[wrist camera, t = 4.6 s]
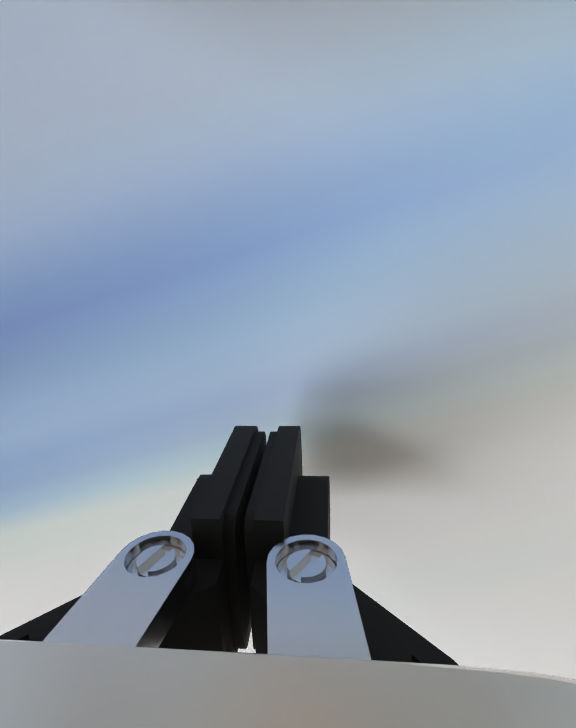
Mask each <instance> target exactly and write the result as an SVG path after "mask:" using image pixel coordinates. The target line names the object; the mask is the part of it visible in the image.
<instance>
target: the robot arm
mask: <svg viewBox="0 0 576 728" xmlns="http://www.w3.org/2000/svg"><path fill="white" fill-rule="evenodd" d="M251 627H252V638H253V648H254V649H256V653H240V652H238V648H240V649H246V648H247V646H248V641H249V636H250V632H251ZM0 728H576V680H574V679H568V678H562V677H556V676H550V675H544V674H538V673H531V672H520V671H510V670H499V669H488V668H478V667H467V666H459V665H458V664H457V663H456V662H455V661H454V660H453V659H451V658H450V657H449V656H447V655H446V654H445V653H443V652H442V651H441V650H439V649H438V648H437V647H435V646H434V645H433V644H431V643H430V642H429V641H427V640H426V639H425V638H423V637H422V636H421V635H420V634H418V633H417V632H416V631H414V630H413V629H412V628H410V627H409V626H408V625H406V624H405V623H404V622H402V621H401V620H400V619H398V618H397V617H396V616H394V615H393V614H392V613H390V612H389V611H388V610H386V609H385V608H384V607H382V606H381V605H380V604H378V603H377V602H376V601H374V600H373V599H372V598H370V597H369V596H368V595H366V594H365V593H364V592H362V591H361V590H360V589H358V588H357V587H356V586H354V585H353V584H352V581H351V577H350V573H349V569H348V565H347V561H346V557H345V555H344V553H343V551H342V549H341V548H340V547H339V546H338V545H337V544H336V543H335V542H333V541H331V540H330V486H329V476H302V449H301V428H300V426H279V428H278V431H277V432H270V435H269V439H268V442H267V445H266V434H265V432H258V428H257V426H235V428H234V430H233V432H232V434H231V436H230V438H229V440H228V442H227V444H226V446H225V448H224V450H223V452H222V455H221V457H220V459H219V461H218V463H217V465H216V467H215V469H214V471H213V473H212V475H200V476H199V478H198V479H197V481H196V483H195V485H194V487H193V488H192V490H191V492H190V494H189V496H188V498H187V500H186V502H185V503H184V505H183V507H182V509H181V511H180V513H179V515H178V516H177V518H176V520H175V522H174V524H173V526H172V528H171V530H170V531H159V532H153V533H149V534H147V535H144V536H141V537H139V538H137V539H136V540H134V541H132V542H130V543H129V544H128V545H127V546H126V547H125V548H124V549H122V550H121V552H120V553H119V554H118V555H117V556H116V557H115V558H114V560H113V561H112V562H111V563H110V564H109V565H108V566H107V568H106V569H105V570H104V571H103V572H102V573H101V575H100V576H99V577H98V578H97V579H96V580H95V581H94V583H93V584H92V585H91V586H90V587H89V588H88V589H87V591H86V592H85V593H84V594H83V595H81V596H79V597H77V598H75V599H73V600H71V601H69V602H67V603H65V604H63V605H61V606H59V607H57V608H55V609H53V610H51V611H49V612H47V613H45V614H43V615H41V616H39V617H37V618H35V619H33V620H31V621H29V622H27V623H25V624H23V625H21V626H19V627H17V628H15V629H13V630H11V631H9V632H7V633H5V634H3V635H1V636H0Z"/></svg>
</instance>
